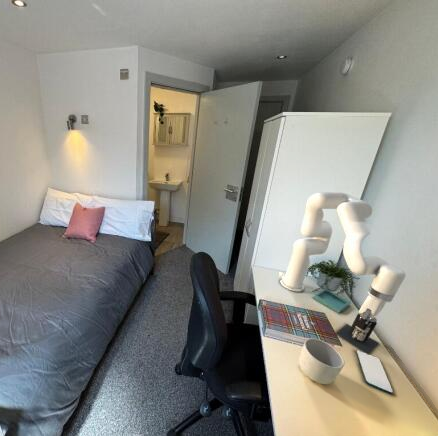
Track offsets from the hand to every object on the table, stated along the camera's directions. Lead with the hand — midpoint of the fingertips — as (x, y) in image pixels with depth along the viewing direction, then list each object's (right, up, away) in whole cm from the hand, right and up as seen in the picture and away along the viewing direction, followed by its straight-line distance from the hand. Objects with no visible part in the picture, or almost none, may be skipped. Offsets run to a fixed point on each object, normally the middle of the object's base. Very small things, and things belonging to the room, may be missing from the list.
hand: (363, 324), depth 103 cm
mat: (0, -8, +3) cm, 8 cm away
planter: (-32, -12, -13) cm, 37 cm away
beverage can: (0, -7, +3) cm, 7 cm away
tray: (+6, +1, +26) cm, 27 cm away
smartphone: (-8, -13, -12) cm, 19 cm away
